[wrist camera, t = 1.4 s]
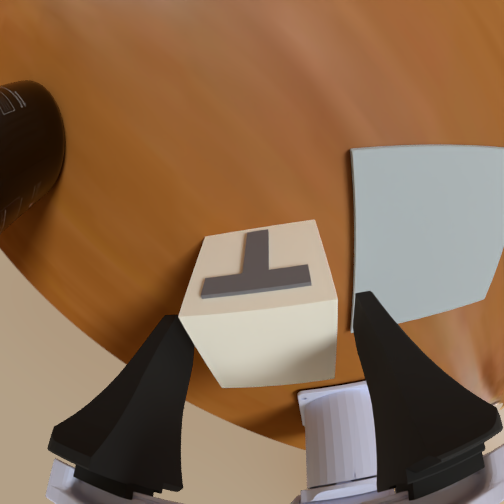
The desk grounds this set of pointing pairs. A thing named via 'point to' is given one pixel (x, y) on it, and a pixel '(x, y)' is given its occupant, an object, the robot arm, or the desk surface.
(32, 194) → the supplement bottle
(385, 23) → the desk surface
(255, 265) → the letter block
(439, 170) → the slate mat
